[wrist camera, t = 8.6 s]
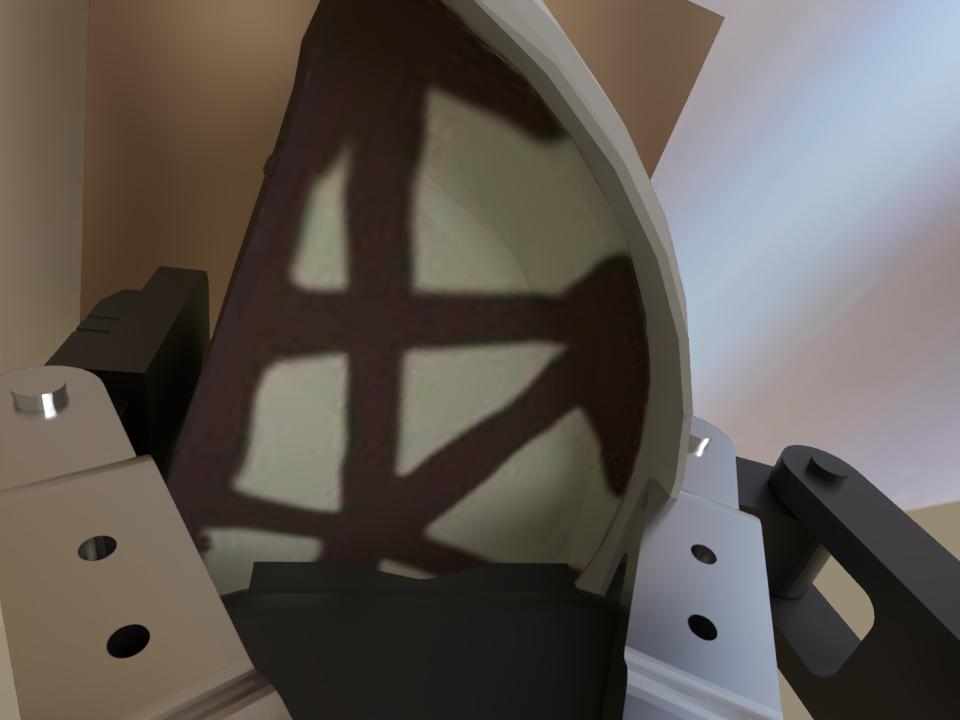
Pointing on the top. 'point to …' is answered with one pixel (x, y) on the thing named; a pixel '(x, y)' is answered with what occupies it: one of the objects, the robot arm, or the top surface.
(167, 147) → the walnut block
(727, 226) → the top surface
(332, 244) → the food container
